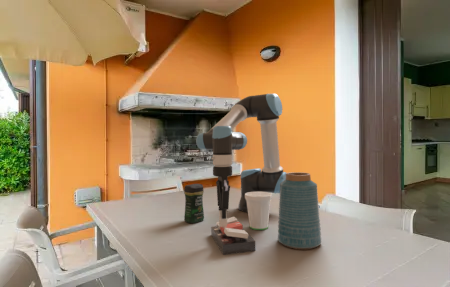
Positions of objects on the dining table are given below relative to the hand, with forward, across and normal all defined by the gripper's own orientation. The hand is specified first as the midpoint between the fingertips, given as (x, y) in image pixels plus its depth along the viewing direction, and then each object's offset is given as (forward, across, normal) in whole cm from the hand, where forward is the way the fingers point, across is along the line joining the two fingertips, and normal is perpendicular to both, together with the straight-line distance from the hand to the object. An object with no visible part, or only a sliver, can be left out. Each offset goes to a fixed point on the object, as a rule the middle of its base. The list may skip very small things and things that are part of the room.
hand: (223, 226), depth 106 cm
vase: (+7, +8, +28) cm, 30 cm away
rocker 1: (+1, -7, +3) cm, 7 cm away
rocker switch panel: (+7, -4, +3) cm, 8 cm away
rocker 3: (+1, +6, +3) cm, 7 cm away
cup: (+7, -14, +20) cm, 26 cm away
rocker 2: (+1, 0, +3) cm, 3 cm away
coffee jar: (+7, -33, -7) cm, 34 cm away
